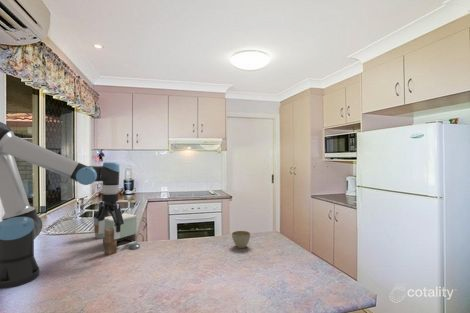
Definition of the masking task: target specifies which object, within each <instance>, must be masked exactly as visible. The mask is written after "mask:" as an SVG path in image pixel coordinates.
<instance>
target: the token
mask: <svg viewBox="0 0 470 313" xmlns="http://www.w3.org/2000/svg"><path fill="white" fill-rule="evenodd" d="M140 247H141V245H140V243H137V244H132V245H130V248H129V250H131V251H132V250H138V249H140Z"/></svg>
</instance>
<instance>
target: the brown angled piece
mask: <svg viewBox="0 0 470 313" xmlns="http://www.w3.org/2000/svg"><path fill="white" fill-rule="evenodd" d="M117 242H118V241H117V239H114V228H109V229H105V230H104V245H103V246H104V249H103V250H104V255H106V256H112V255H114V254H117V252H121V251H124V250H126V249H130V245H132V244H138V241H137V240H136V241H131V242H127V243H125V244H121V245H118V246H117V244H118V243H117Z"/></svg>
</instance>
